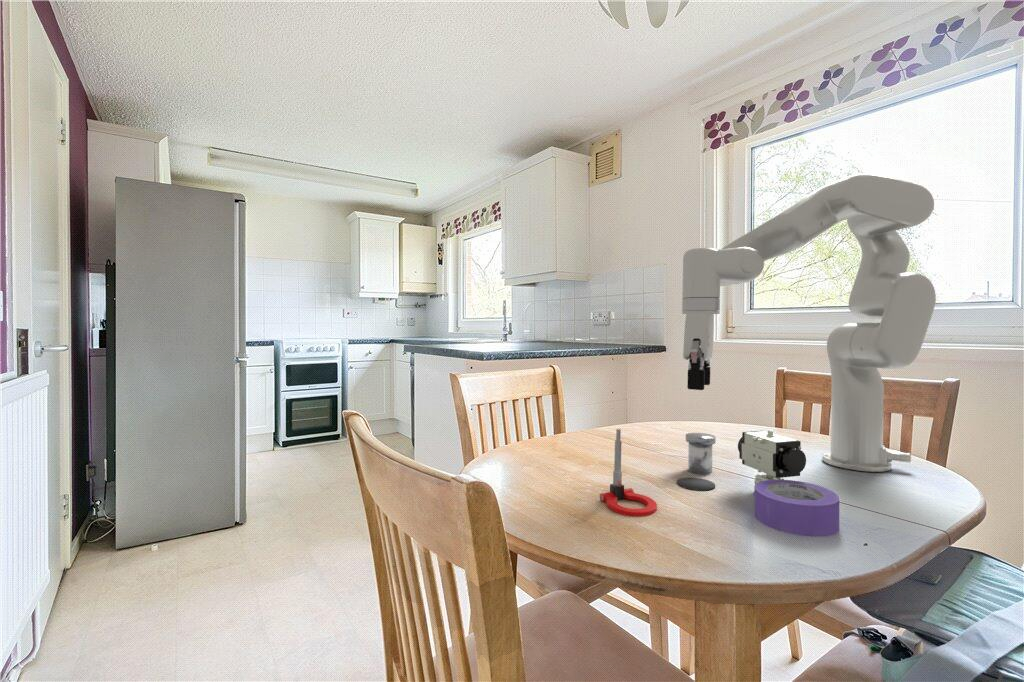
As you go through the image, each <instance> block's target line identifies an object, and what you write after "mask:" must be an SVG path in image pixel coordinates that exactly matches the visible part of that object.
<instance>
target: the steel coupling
mask: <svg viewBox="0 0 1024 682" xmlns="http://www.w3.org/2000/svg"><path fill="white" fill-rule="evenodd" d="M716 438H717V437H716V435H714V434H709V433H704V432H688V433H686V434H685V442H686V443H688V449H687V450H688V451H687V453H688V459H687V461H688V463H687V465H688V466H687V467H688V470H687V471H688V472H691V473H693V474H698V475H710V474H712V473H713V445H714V444H716V441H717V440H716Z"/></svg>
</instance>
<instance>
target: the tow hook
mask: <svg viewBox="0 0 1024 682" xmlns="http://www.w3.org/2000/svg"><path fill="white" fill-rule="evenodd" d="M615 430H616V431H615V440H614V460H613V461H614V465H613V466H614V468H613V469H614V470H612V471H613V474H612V483H610V484H609V491H608V492H603V493H599V499H600V501H601V502H602V503H603V502H606V506H607V507H608V508H609V509H610V510H611V511H612V512H614V513H617V514H620V515H624V516H629V517H645V516H650V515H653V514H654V513H656V512H657V509H658V504H657V501H656V500H654V499H653V498H651V497H650V496H647V495H644V494H640V493H636V492H635V491H634V489H633V488H631V487H630V488H626V489H625V485H624V484H622V482H623V480H622V477H623V472H622V443H623V442H622V438H621V434H622V432H621V428H617V429H615ZM624 498H625V499H627V500H630V501H631V500H632V501H637V502H640V503H643V504H645V505H646V506H645V507H642V508H630V507H624V506H622V505H619V504H618V500H622V499H624Z"/></svg>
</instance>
